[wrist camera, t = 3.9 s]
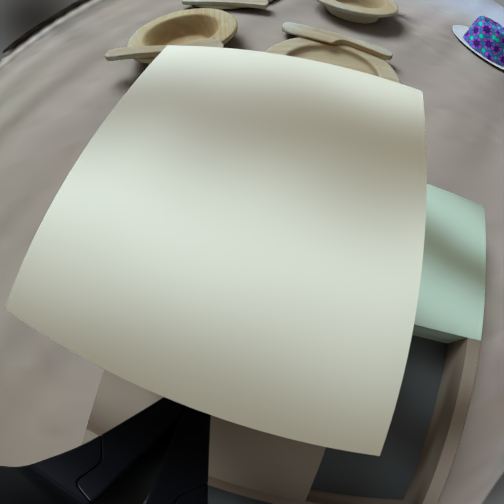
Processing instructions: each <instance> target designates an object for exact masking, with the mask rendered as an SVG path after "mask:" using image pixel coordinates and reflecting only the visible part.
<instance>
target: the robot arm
mask: <svg viewBox="0 0 504 504" xmlns="http://www.w3.org/2000/svg"><path fill="white" fill-rule="evenodd" d="M210 424H211V415H209V414H207V413H204V412H201V411H198V410H196V409H193V408H190V407H188V406H185V405H183V404H180V403H178V402H175V401H173V400H170V399H168V398H165V397H163V398H161V399H160V400H158V401H157V402H155V403H153V404H152V405H150V406H148V407H147V408H145V409H144V410H142V411H140V412H139V413H137V414H135V415H134V416H132V417H130V418H129V419H127V420H125V421H124V422H122V423H120V424H119V425H117V426H115V427H113V428H112V429H110V430H108V431H107V432H105V433H103V434H102V435H101V436H100V435H99V436H98V437H96V438H94V439H92V440H91V441H89V442H87V443H85V444H83V445H81V446H79V447H77V448H74V449H72V450H70V451H67V452H65V453H62V454H59V455H57V456H54V457H51V458H48V459H46V460H43V461H40V462H37V463H34V464H31V465H27V466H21V467H7V466H0V504H143V503H144V501H145V500H146V498H147V497H148V495H149V497H148V499H147V502H146V504H208V473H209V446H210Z"/></svg>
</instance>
